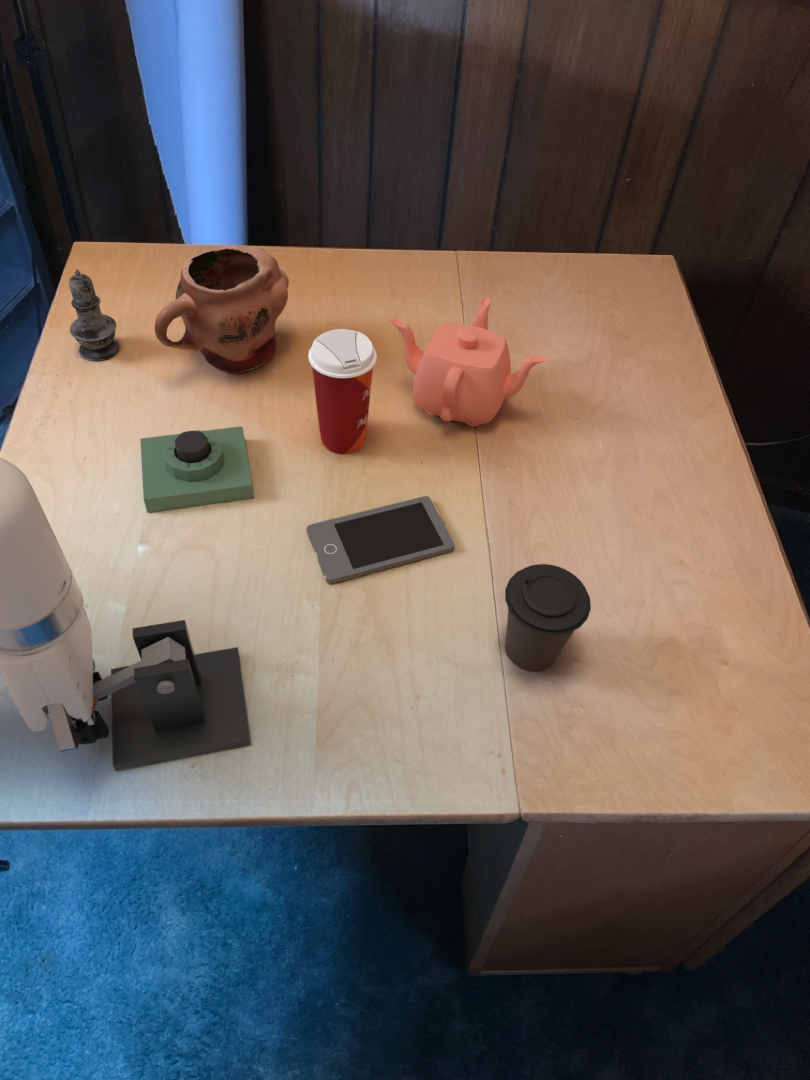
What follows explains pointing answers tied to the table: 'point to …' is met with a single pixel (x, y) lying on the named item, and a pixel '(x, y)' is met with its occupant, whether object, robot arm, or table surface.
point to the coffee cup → (543, 614)
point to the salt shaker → (91, 322)
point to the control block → (195, 471)
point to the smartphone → (379, 539)
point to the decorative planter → (228, 307)
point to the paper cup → (342, 387)
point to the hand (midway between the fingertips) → (91, 717)
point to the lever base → (178, 703)
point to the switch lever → (151, 655)
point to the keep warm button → (192, 446)
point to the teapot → (463, 370)
